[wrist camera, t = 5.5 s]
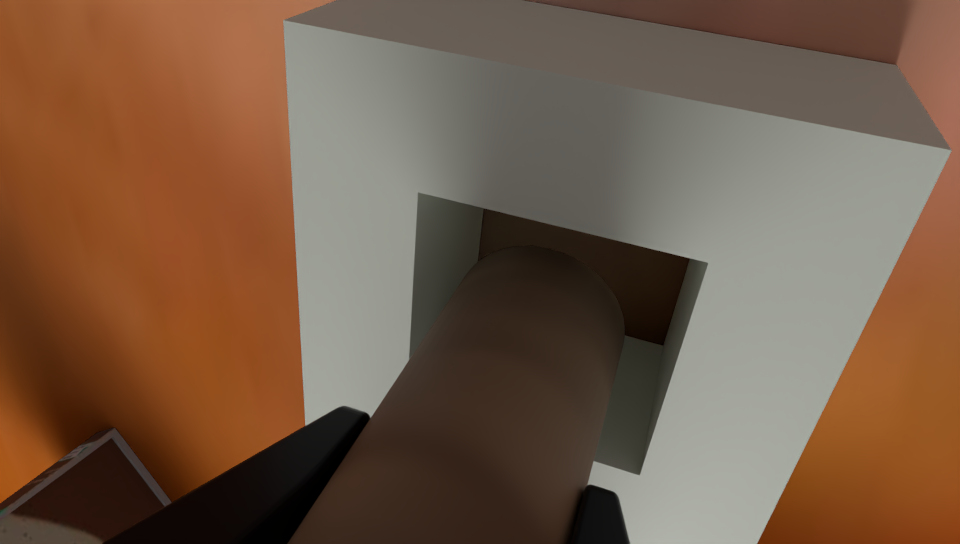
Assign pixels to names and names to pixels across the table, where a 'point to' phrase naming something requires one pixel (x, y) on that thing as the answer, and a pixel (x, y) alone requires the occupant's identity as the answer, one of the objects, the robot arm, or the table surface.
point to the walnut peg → (486, 415)
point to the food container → (83, 496)
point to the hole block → (608, 218)
